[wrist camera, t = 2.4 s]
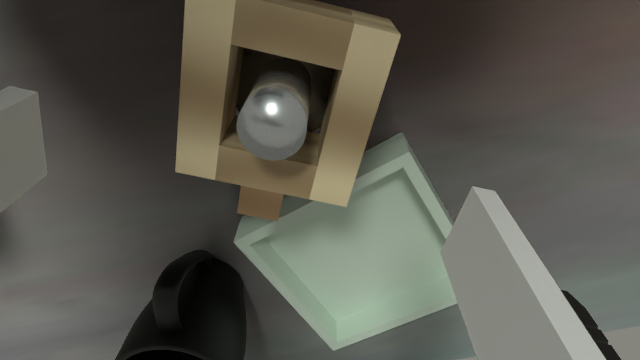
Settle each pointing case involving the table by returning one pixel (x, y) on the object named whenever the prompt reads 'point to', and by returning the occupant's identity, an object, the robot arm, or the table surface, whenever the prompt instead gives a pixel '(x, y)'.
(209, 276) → the mug
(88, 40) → the table surface
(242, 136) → the grey piece
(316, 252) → the tray
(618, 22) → the table surface
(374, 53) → the wooden rectangular frame
